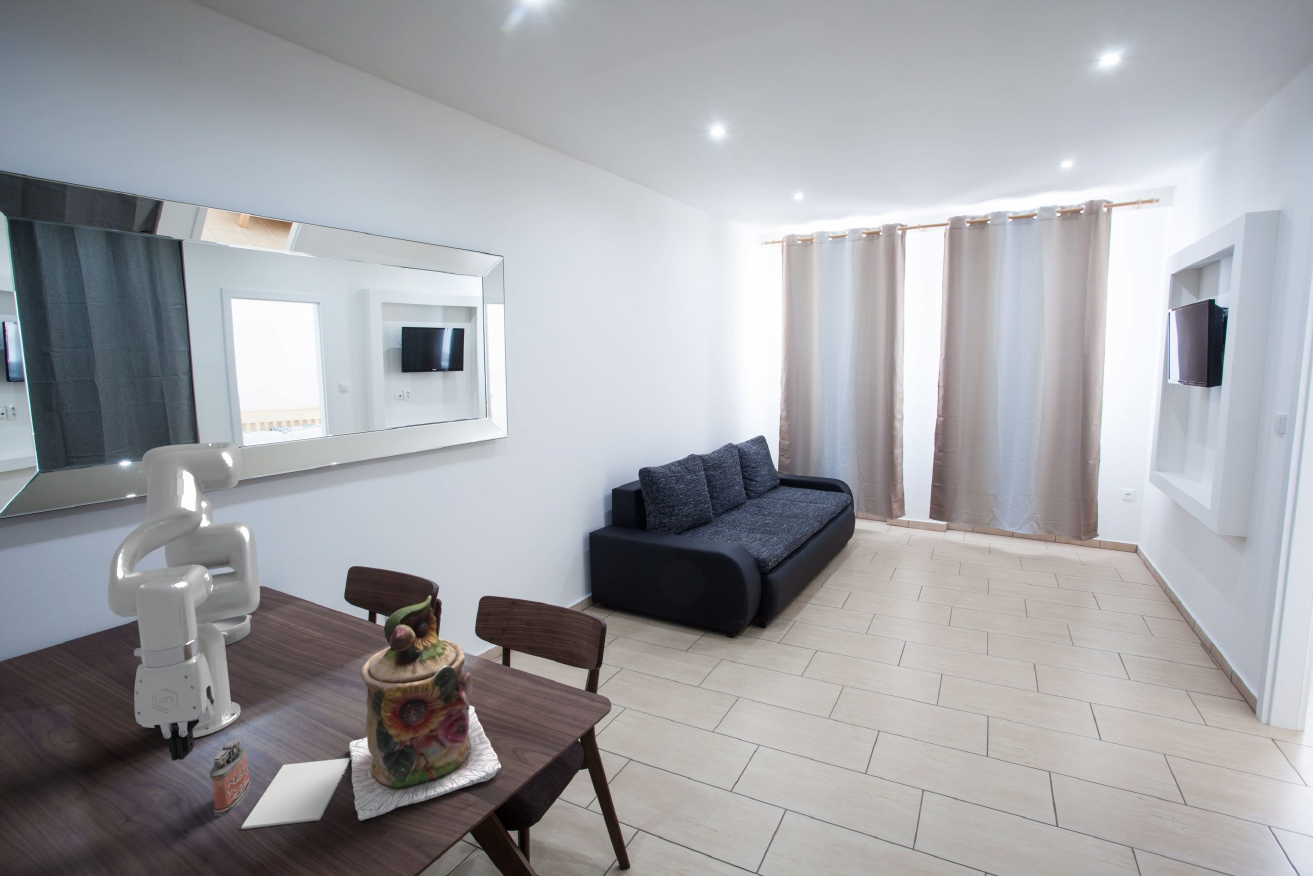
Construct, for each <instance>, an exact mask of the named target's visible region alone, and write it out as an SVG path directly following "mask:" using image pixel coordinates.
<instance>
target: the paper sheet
mask: <svg viewBox="0 0 1313 876" xmlns="http://www.w3.org/2000/svg"><path fill="white" fill-rule="evenodd" d="M350 760H351V757H346V758H337V759H327V760H318V761H309V762H299V763H289V764H288V763H287V764H283V765H282V766H281V768H280V769H279V771H278V772H277V774H276V775H274V776H275V777H274V778H273V779H272V781H271V783H270V784H269V785H268V787H267V788H266V790H265V791H264V793H263V794H262V796H261V797H260V798H259V800H258V802H257V803H256V805H255V806H254V807H253V809H252V811H251V812H250V813H249V815H248V816H247V818H246V819H245V821H244V822H243V824H242V825H241V828H240V829H241V830H246V829H255V828H264V827H271V826H278V825H288V824H296V823H305V822H306V823H307V822H312V821H313V822H314V821H320V820H321V818H322V816H323V815H324V813H325V810H326V809H327V808H328V806H329V803H330V801H331V800H332V798H333V795H334V794H335V792H336V789H337V788H338V786H339V784H340V782H341V780H342V778H343V776H344V774H345V772H346V770H347V769H348V766H349V765H348V764H350V763H349V762H351V761H352V760H351V761H350ZM345 769H346V770H345ZM342 775H343V776H342ZM338 783H339V784H338Z"/></svg>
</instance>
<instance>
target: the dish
mask: <svg viewBox="0 0 1313 876" xmlns="http://www.w3.org/2000/svg"><path fill="white" fill-rule="evenodd" d="M252 618H253V617H252V615H251V614H246V615H241V616H237V617H231V618H226V619H220V620H215V621H212V622H209V623H211V624H212V625H213V626H214V627H216V628H217V629H218V630H219V631H220V632H221V634H222V635H223V637H224V641H225V646H228V645H231V644H234V643H237V642H239V641H242V640H243V639H244V638H246V637H247V636H248V635H249V634H250V631H251V622H252V621H253V620H252Z"/></svg>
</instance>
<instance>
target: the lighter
mask: <svg viewBox="0 0 1313 876" xmlns="http://www.w3.org/2000/svg"><path fill="white" fill-rule="evenodd" d="M247 754H248V747H247V746H246V745H241V740H240V738H234V739H232V740H231V741H230V742H229V743H226V744H224V745H223V746H222V750H221V751H220V752H219V753H218V754H217V755H216V756H215V757H214V759H213V767H212V768H211V769H210V771H209V778H210V779H211V785H212V797H213V803H214V807H213V814H214V816H215V817H222V816H225V815H227V814H230V812H232V811H233V810H234V809H235V808H236V807H237V806H238V805H239V804H241V802H242V800H244V798H245V797H246V796H247V794H248V793H249V791H250V789H251V787H252V782H251V780H250V778H249V777H250V776H249V767H248V766H249V765H248V757H247Z"/></svg>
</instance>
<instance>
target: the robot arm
mask: <svg viewBox="0 0 1313 876" xmlns="http://www.w3.org/2000/svg"><path fill="white" fill-rule="evenodd" d="M141 464H142V470H143V471H142V472H143V474H144V476H145V479H146V482H147V488H146V489H147V492H146V508H145V509H146V511H145V512H146V513H145V515H146V516H145V520H144V521H143V522H141V524H140V525H138V526H137V527H136V528H135V529H133V530H132V531H131V532H129V533H128V535H127V536H126V537H125V538H124V539H123V541H121V543H120V544H119V546H118V547H117V548H116V549H115V550H114V554H113V556H112V559H111V561H110V566H109V575H108V584H107V604H108V607H109V610H110V611H111V613H112V614H113V615H115V616H117V617H119V618H125V619H126V618H135V617H137V623H138V633H139V641H140V647H137V648H135V649H134V652H133V655H134V657H140V658H141V663H140V664H139V665H138V666H137V668H136V675H135V681H134V691H133V692H134V699H133V701H134V717H135V722H136V723H137V724H139V725H141V727H144V728H151V729H156V730H157V731H158V732H160V733H162V736H163V738H164V739H166V740H167V741H168V752H169V754H170V756H171V761H173V762H174V761H176V760H179V761H180V760H181V761H182V760H184V759H185V758H186V757H187V756H188V755H190V753H191V752H192V751H193V749H194V748H195V742H194V741H195V738H199V737H203V736H204V737H205V736H208V735H210V734H213V733H215V732H218V731H221V730H222V729H225V728H226V727H228V726H230V725H231V724H232V723H234V722H235V721H236V720H237V719H238V718H239V716H240V715H241V712H242V711H241V706H240V704H239V703H237V702H236V701H235V702H234V701H231V700H232V699H231V692H230V691H231V690H230V689H231V688H230V680H229V671H228V662H227V660H228V659H227V654H226V645H225V641H224V637H223V635H222V634H221V632H220V631H219V630H218V629H217V628H216V627H214V626H213V625H212V624H211V623H209V622H212V621H215V620H220V619H226V618H231V617H237V616H241V615H250V614H251V613H254V612H255V611H256V610H257V608H258V607H259V605H260V599H261V595H260V594H261V589H260V587H261V586H260V578H259V577H260V576H259V565H258V554H257V553H258V551H257V546H256V545H257V544H256V543H257V542H256V537H255V534H254V531H253V529H252V527H251V526H250V525H249V524H247V523H246V522H241V521H240V522H235V521H234V522H227V523H226V522H225V523H218V524H214V517H213V516H214V515H213V505H212V502H211V501H210V500H209V499H208V498H207V496H205V495H204V494H203V492H211V491H216V490H217V491H219V490H228V489H232V488H234V487H236V486H237V485H238V483H239V482H240V478H241V475H242V472H243V467H244V466H243V465H244V460H243V454H242V451H241V449H240V447H239V446H238V445H237V444H236V443H235V442H232V441H218V442H205V443H204V442H202V443H201V442H200V443H188V444H187V443H185V444H171V445H164V446H158V447H154V448H151V449H150V450H149V449H148V451H146V452H145V453H144V454H143V456H142V460H141ZM162 547H164V556H165V557H164V558H165V565H166V566H167V567H164V568H163V567H162V568H155V569H150V570H149V569H148V570H143V571H142V570H141V571H135V572H134V569H135V568H136V566H137V564H138V563H139V562H140V561H141V560H142V559H144V558H145V557H146V556H148V555H149V554H150V553H152V552H154V551H156V550H157V549H160V548H162ZM225 568H230V569H232V570H233V571H228V572H222V573H216V574H212V573H211V572H210V570H216V569H217V570H218V569H225Z"/></svg>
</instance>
